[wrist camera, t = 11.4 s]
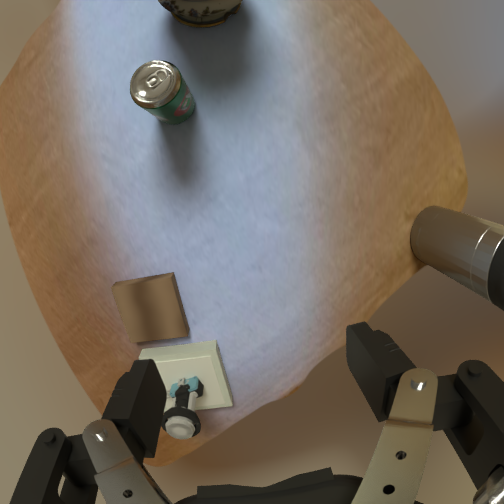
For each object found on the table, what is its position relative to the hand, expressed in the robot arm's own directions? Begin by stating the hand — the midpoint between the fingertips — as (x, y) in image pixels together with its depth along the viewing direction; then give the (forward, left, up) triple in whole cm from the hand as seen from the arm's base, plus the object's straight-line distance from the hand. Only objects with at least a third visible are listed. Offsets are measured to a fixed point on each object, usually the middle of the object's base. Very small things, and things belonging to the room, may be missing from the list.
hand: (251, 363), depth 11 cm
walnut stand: (+14, +9, -28) cm, 33 cm away
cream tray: (+12, +22, -28) cm, 38 cm away
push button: (+13, +22, -26) cm, 36 cm away
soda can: (+5, -17, -28) cm, 33 cm away
